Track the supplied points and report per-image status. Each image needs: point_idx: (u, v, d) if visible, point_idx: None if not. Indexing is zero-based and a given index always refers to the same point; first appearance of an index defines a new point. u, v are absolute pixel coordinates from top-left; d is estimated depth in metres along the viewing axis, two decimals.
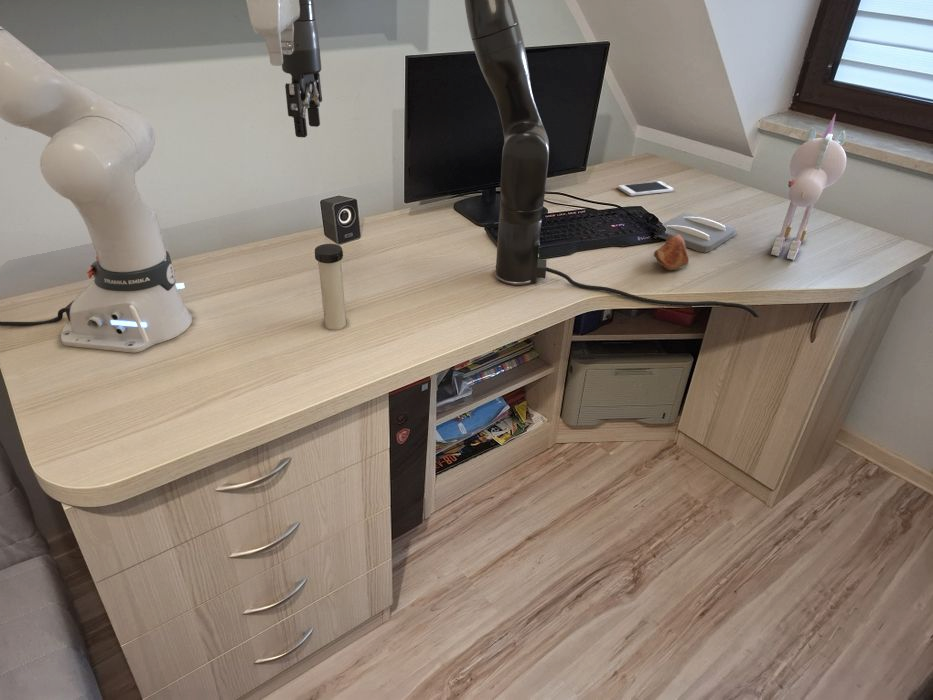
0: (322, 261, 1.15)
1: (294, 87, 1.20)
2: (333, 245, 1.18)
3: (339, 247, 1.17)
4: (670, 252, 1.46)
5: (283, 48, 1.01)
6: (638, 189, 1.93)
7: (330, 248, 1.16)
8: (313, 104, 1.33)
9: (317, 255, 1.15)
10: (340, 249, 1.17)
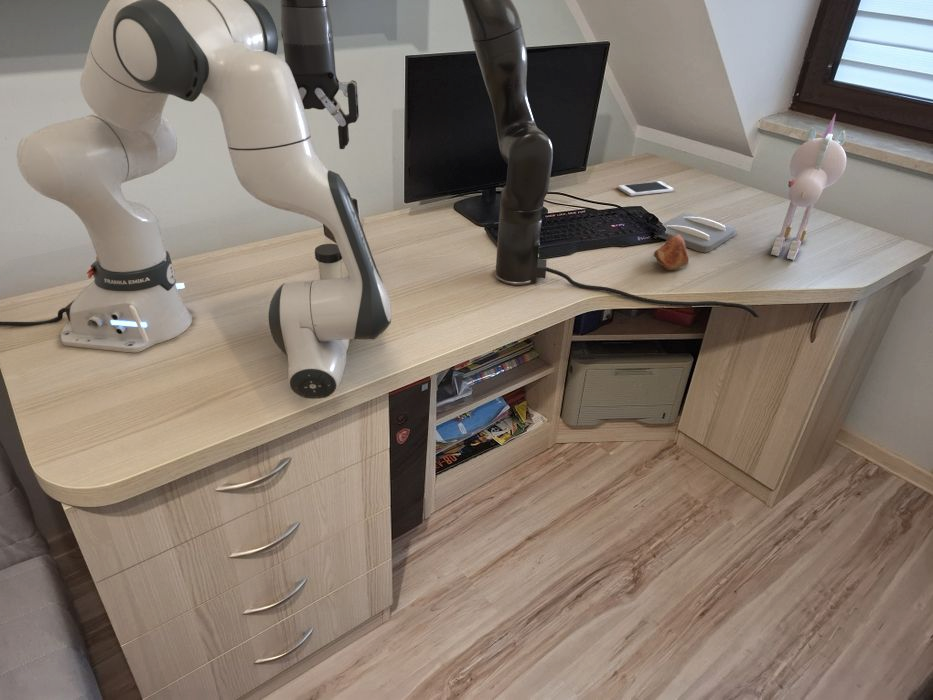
0: (322, 261, 1.15)
1: (356, 85, 1.01)
2: (333, 245, 1.18)
3: None
4: (670, 252, 1.46)
5: None
6: (638, 189, 1.93)
7: (331, 248, 1.16)
8: None
9: (317, 255, 1.15)
10: None
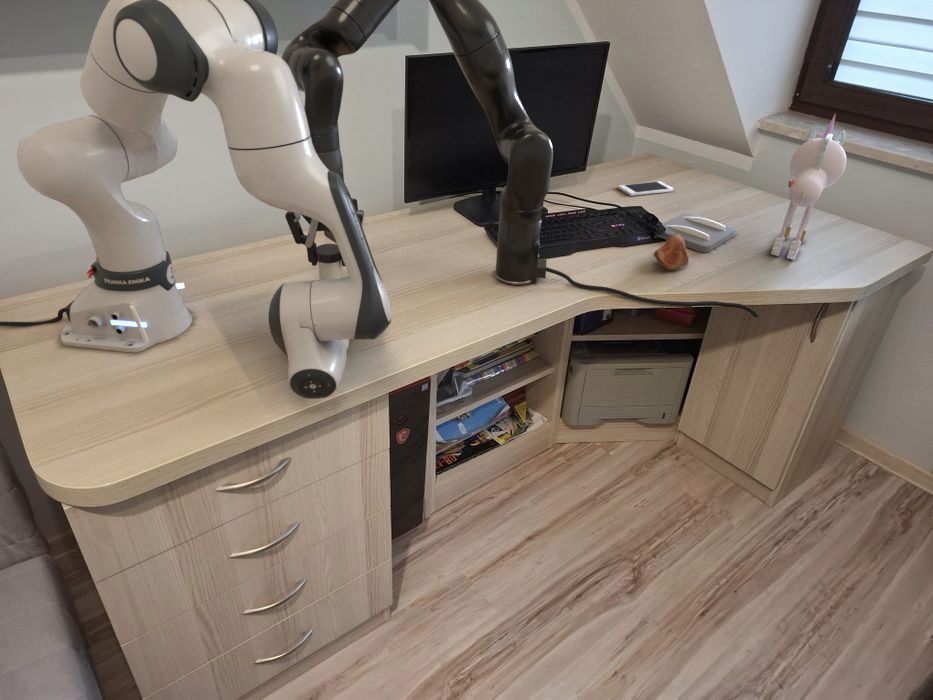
0: (322, 261, 1.15)
1: (363, 215, 1.13)
2: (333, 245, 1.18)
3: None
4: (670, 252, 1.46)
5: None
6: (638, 189, 1.93)
7: (331, 248, 1.16)
8: (313, 240, 1.16)
9: (317, 255, 1.15)
10: None
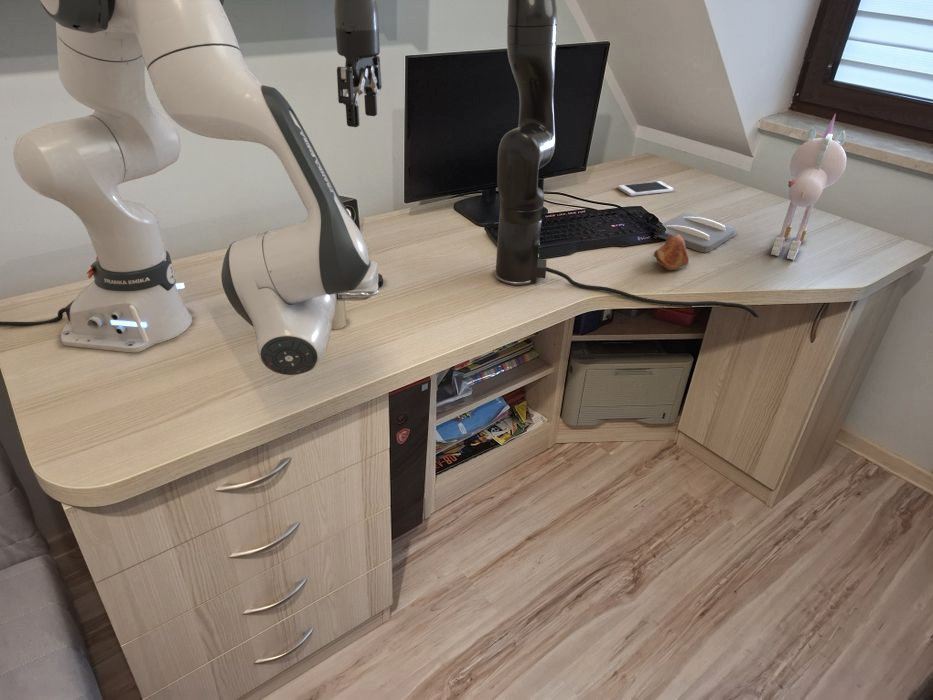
0: None
1: None
2: None
3: None
4: (670, 252, 1.46)
5: None
6: (638, 189, 1.93)
7: None
8: None
9: None
10: None
